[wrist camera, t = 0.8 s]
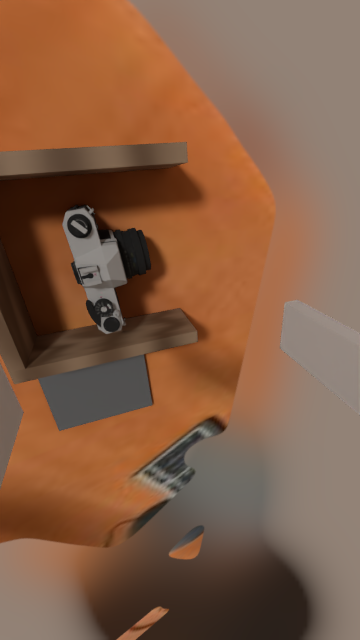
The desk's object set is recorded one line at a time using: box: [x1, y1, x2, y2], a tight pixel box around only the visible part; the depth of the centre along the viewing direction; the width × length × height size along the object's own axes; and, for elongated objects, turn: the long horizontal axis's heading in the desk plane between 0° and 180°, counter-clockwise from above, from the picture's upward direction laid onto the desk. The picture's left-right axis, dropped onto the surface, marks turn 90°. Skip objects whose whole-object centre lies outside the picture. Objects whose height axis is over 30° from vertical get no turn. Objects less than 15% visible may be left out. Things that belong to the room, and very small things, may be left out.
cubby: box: [0, 142, 198, 384], centre depth 28 cm, size 20×20×7 cm
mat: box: [38, 354, 152, 431], centre depth 38 cm, size 14×12×1 cm
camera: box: [62, 205, 151, 334], centre depth 28 cm, size 13×8×9 cm, turn 12°
